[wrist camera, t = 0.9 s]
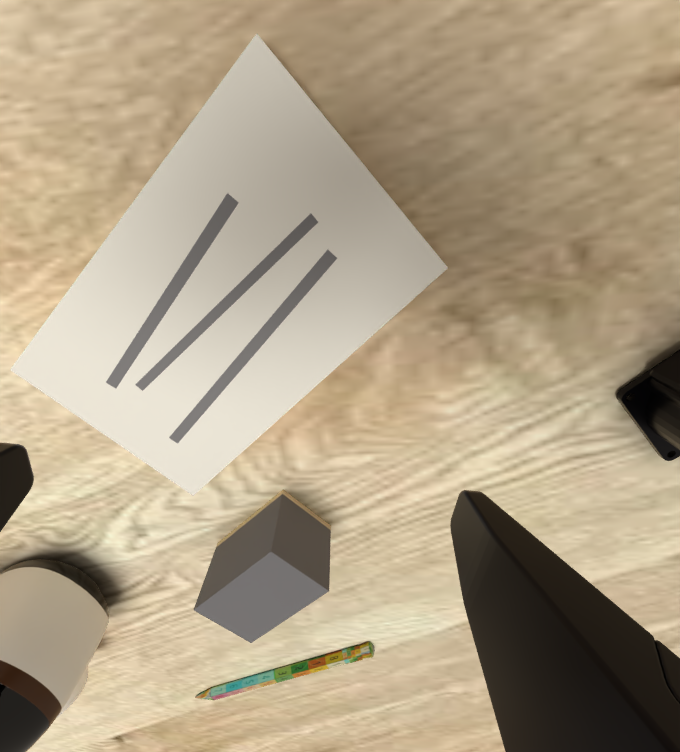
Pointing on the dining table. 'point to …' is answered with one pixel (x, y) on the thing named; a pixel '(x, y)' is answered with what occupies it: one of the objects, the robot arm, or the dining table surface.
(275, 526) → the block
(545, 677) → the robot arm
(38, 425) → the dining table surface
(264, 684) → the pencil
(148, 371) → the board
